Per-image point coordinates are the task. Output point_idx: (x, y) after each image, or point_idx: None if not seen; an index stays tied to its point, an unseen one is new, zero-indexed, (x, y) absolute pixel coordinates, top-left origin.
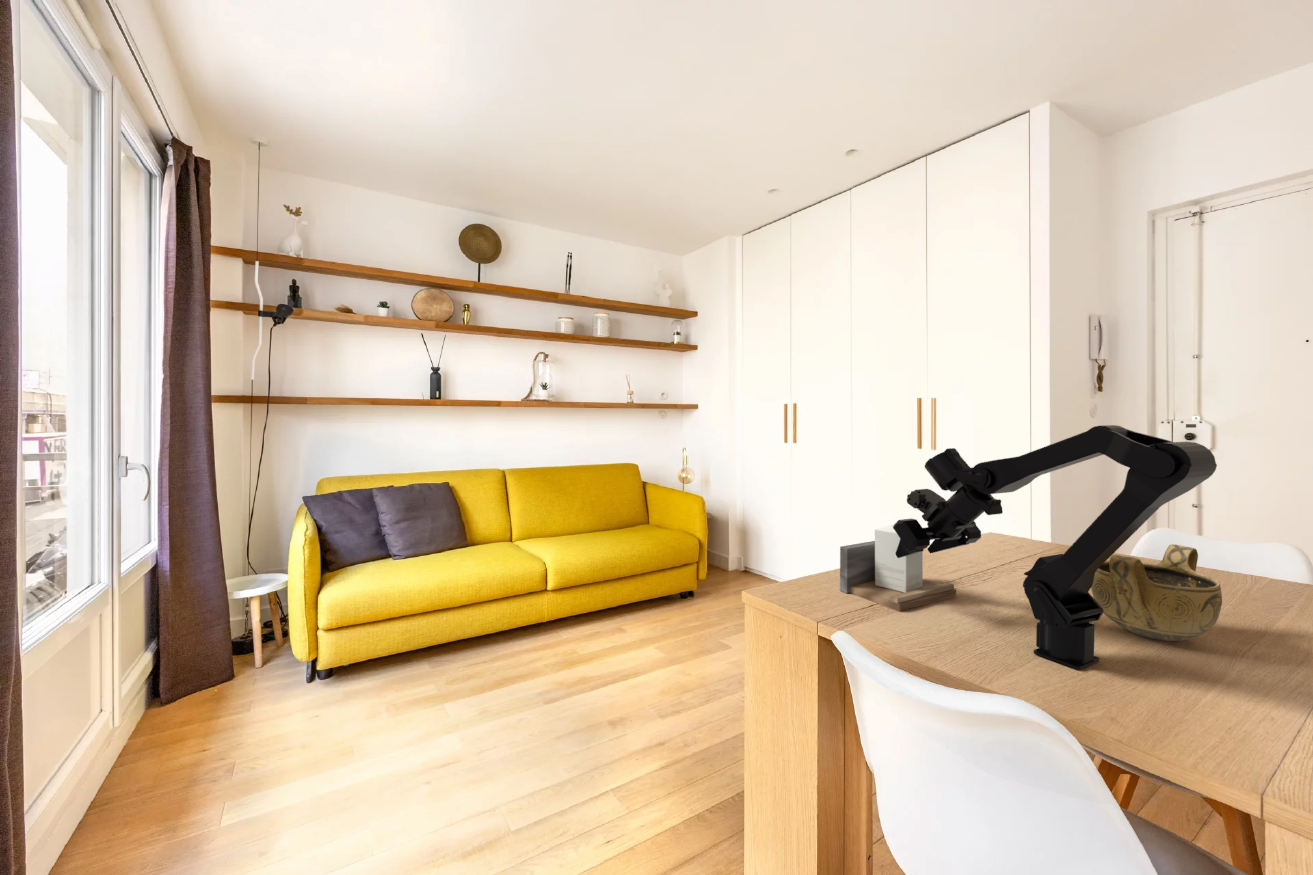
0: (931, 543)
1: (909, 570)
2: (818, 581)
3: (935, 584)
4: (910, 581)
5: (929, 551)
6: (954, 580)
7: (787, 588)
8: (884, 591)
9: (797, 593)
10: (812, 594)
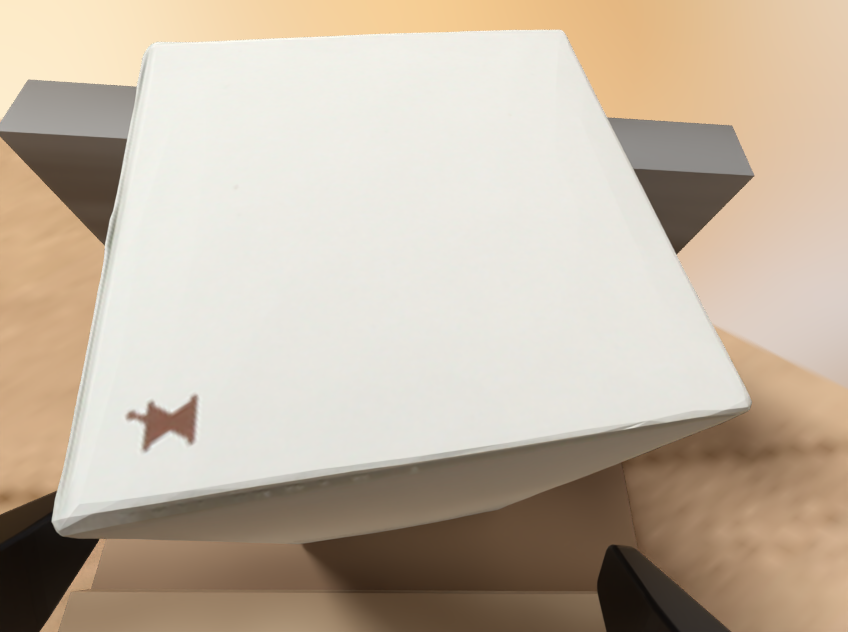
0: (668, 621)
1: (316, 536)
2: None
3: (613, 515)
4: (342, 536)
5: (601, 577)
6: (830, 452)
7: None
8: None
9: (5, 211)
10: (40, 247)
